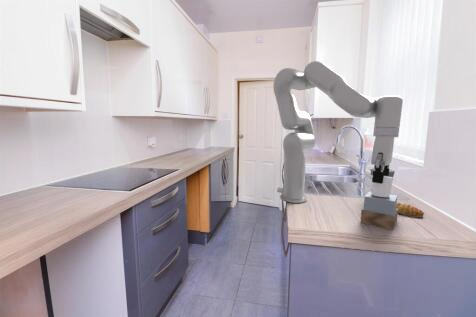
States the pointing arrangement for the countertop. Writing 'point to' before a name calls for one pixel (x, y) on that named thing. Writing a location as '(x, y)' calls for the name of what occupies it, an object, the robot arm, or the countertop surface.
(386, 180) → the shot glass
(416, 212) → the pastry
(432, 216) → the countertop surface
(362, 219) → the walnut base block
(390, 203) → the grey top block
